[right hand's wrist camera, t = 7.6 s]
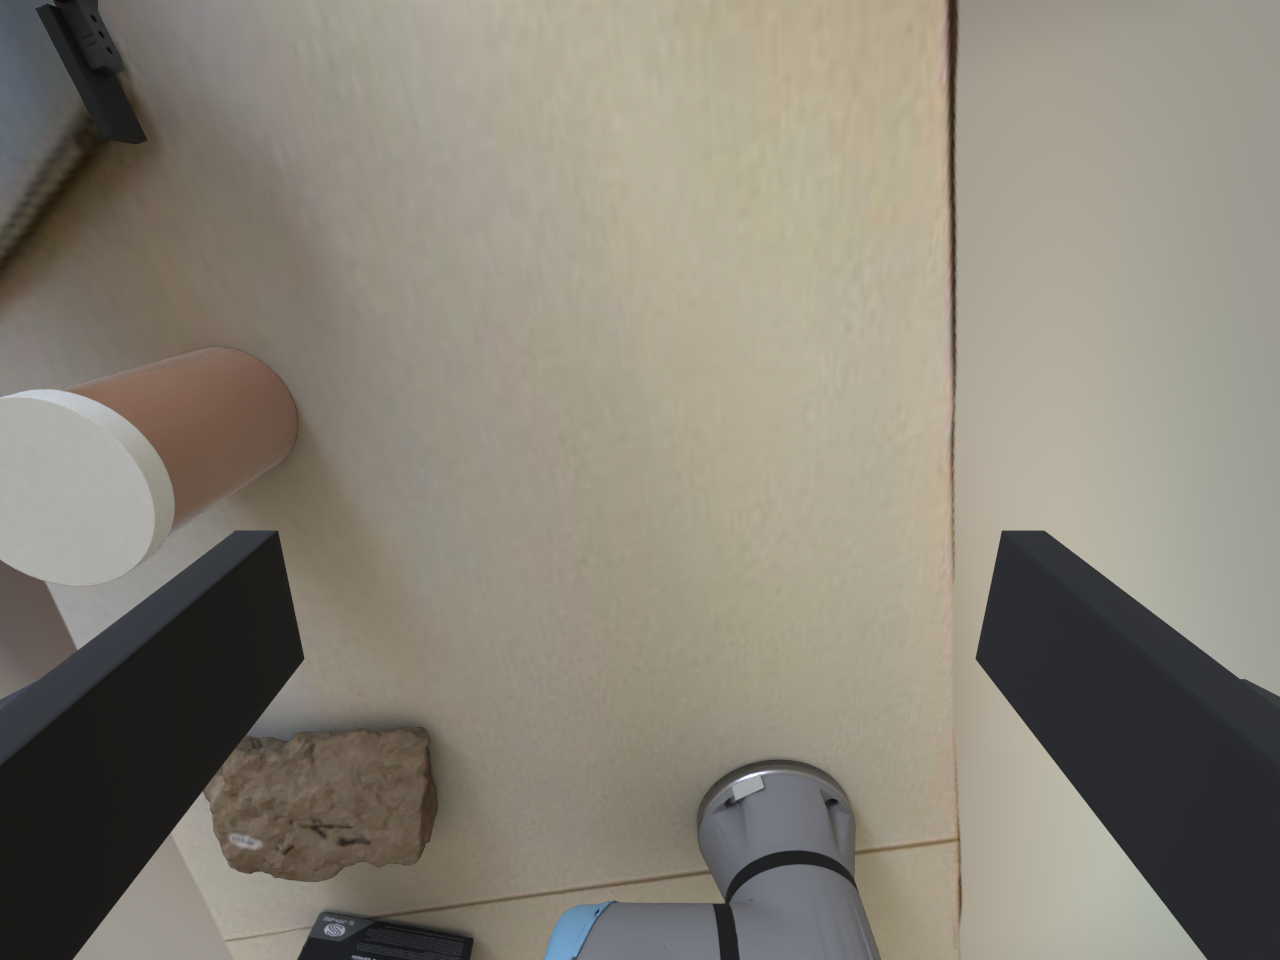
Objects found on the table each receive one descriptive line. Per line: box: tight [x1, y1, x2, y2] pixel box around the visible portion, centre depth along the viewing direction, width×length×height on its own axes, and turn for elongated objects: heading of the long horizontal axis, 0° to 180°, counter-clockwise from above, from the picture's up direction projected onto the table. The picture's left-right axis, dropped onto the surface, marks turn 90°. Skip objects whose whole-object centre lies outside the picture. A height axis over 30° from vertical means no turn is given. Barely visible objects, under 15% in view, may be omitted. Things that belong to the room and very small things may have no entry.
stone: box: [203, 727, 437, 882], centre depth 63 cm, size 21×15×6 cm
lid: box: [0, 389, 175, 586], centre depth 38 cm, size 11×11×2 cm
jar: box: [58, 347, 298, 538], centre depth 45 cm, size 10×10×17 cm
